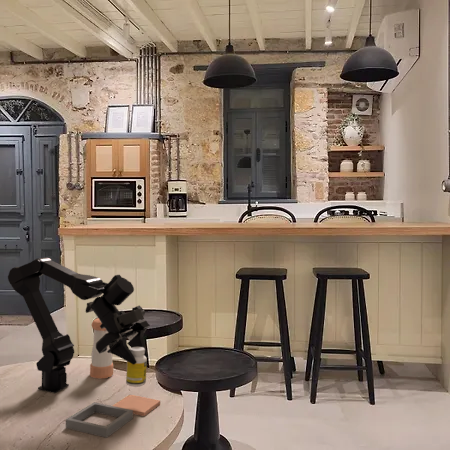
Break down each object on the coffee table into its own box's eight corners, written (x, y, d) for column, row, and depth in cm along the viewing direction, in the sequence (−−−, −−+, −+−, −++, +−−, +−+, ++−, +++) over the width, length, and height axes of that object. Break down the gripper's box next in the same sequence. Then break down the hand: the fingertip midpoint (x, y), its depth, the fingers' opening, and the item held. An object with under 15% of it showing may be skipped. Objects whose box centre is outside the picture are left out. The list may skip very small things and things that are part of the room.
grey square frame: (65, 427, 130) (65, 419, 130) (94, 410, 142) (94, 402, 142) (106, 437, 126) (106, 428, 126) (132, 418, 137) (132, 410, 137)
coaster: (111, 409, 143) (112, 405, 142) (129, 397, 151) (129, 394, 151) (144, 416, 139) (144, 412, 139) (160, 404, 147) (160, 400, 147)
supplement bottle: (146, 386, 142) (148, 351, 142) (126, 387, 141) (127, 351, 140) (145, 379, 148) (146, 345, 147) (125, 380, 146) (126, 346, 146)
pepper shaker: (95, 370, 173) (96, 312, 172) (116, 372, 172) (117, 314, 171) (86, 377, 166) (87, 317, 165) (108, 379, 165) (109, 319, 164)
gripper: (106, 303, 136) (140, 352, 132) (145, 292, 153) (176, 335, 149) (80, 329, 140) (113, 377, 136) (121, 315, 157) (152, 357, 153)
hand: (141, 360), depth 143 cm, fingers closed on supplement bottle, 5 cm apart
